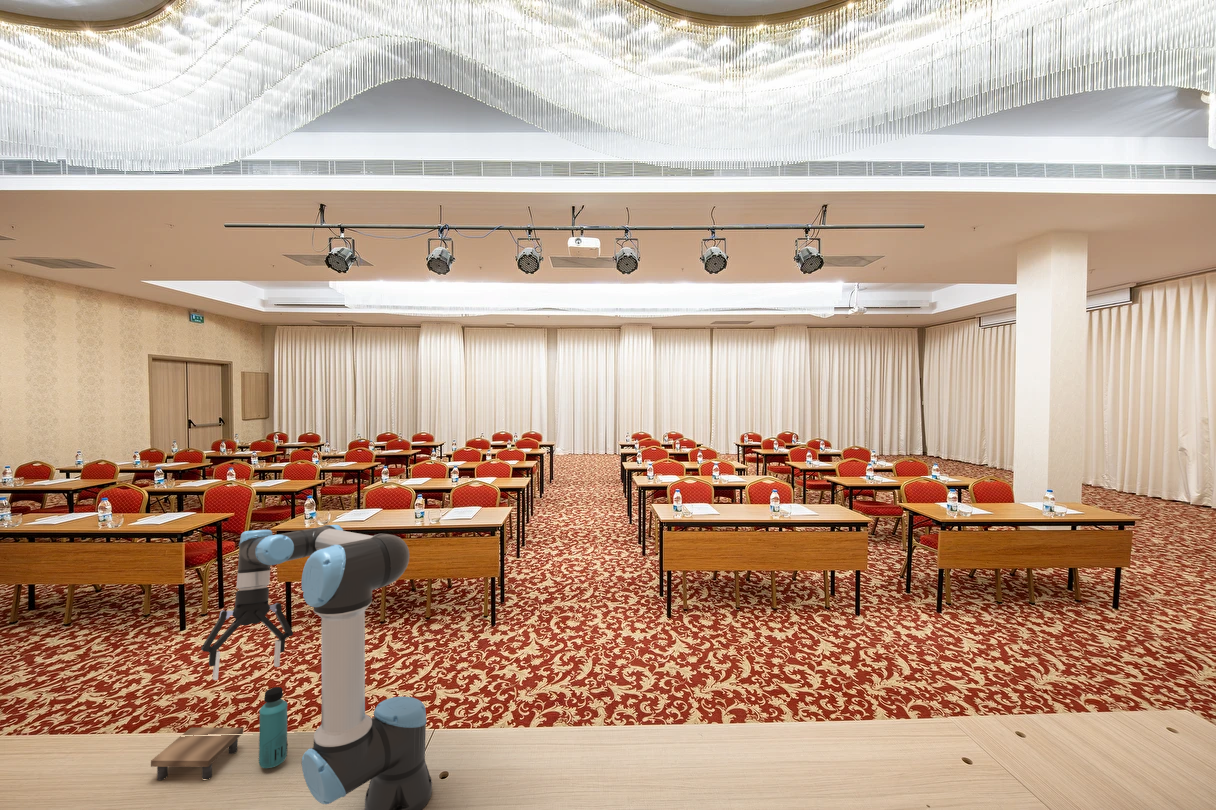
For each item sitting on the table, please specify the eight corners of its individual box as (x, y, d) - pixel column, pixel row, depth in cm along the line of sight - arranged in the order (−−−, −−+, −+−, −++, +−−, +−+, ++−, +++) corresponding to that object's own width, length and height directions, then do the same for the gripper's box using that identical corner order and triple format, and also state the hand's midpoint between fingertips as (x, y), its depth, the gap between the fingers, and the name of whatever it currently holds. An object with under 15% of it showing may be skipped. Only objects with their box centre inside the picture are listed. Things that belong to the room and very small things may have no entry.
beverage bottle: (273, 776, 133) (274, 698, 133) (251, 772, 134) (252, 695, 134) (293, 759, 139) (294, 685, 139) (272, 755, 141) (273, 681, 140)
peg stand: (242, 747, 143) (243, 727, 143) (208, 782, 130) (208, 760, 130) (190, 747, 143) (190, 727, 143) (150, 782, 130) (150, 760, 130)
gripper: (300, 581, 154) (296, 659, 149) (193, 594, 137) (184, 682, 132) (307, 582, 149) (303, 662, 144) (197, 595, 132) (189, 687, 127)
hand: (246, 672), depth 138 cm, fingers open, 13 cm apart
